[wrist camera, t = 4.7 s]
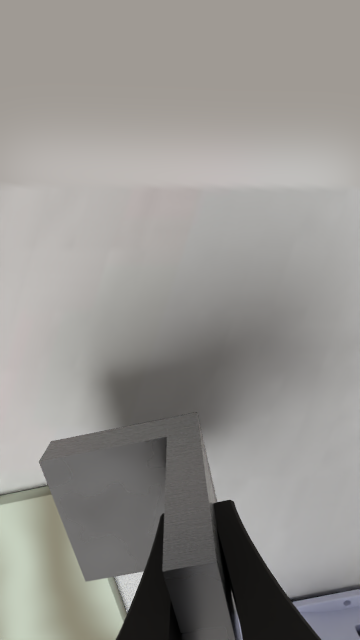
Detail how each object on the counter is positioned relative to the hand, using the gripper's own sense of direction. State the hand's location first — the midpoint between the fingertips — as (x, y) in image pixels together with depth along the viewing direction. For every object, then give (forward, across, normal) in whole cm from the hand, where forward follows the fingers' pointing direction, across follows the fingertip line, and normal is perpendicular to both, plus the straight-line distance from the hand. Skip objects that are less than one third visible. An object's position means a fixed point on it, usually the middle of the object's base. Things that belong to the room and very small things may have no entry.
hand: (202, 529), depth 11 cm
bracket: (+2, +2, 0) cm, 3 cm away
